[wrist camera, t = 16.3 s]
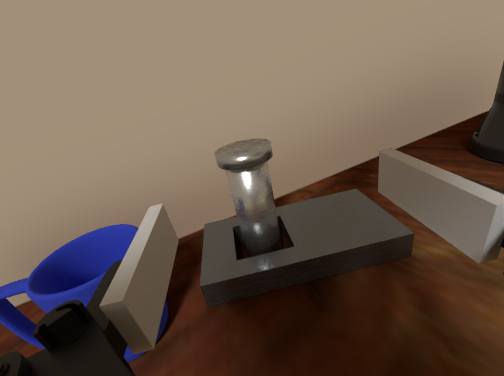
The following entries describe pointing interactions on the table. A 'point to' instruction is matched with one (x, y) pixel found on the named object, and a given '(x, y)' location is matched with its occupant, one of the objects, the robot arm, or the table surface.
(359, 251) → the jig
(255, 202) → the silver metal peg
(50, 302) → the mug
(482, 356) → the table surface
